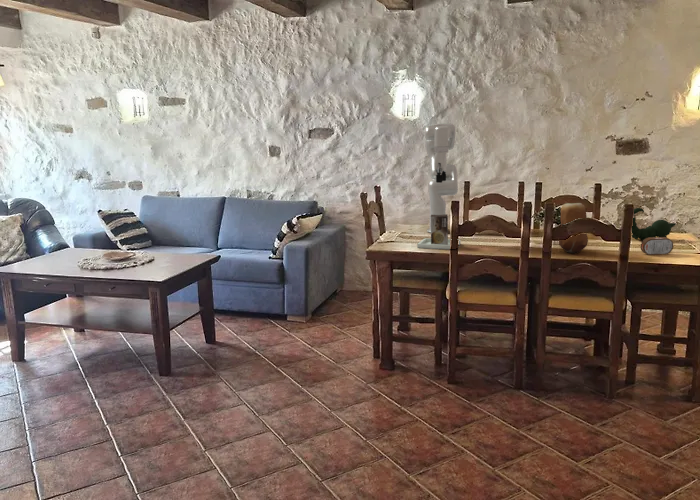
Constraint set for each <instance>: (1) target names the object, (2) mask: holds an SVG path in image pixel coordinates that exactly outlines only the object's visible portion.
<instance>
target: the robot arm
mask: <svg viewBox="0 0 700 500" xmlns="http://www.w3.org/2000/svg"><path fill="white" fill-rule="evenodd" d="M456 134H457V133H456V126H455V125H454V124H453V123H448V122H447V123H435V124H433V125H427V126H426V127H425V128H424V139H425V151H426V154H427V157H428V158H429V173H430V177H431V179H432V180H430V181H429V183H428V195H429V196H428V197H429V228H427V230H426V232H427V233H430V234H431V215H438V214H447V213H446V212H447V211H446V210H447V209H446V208H447V207H446V205H447V204H446V201H445V199H444V198H443V196H455V195H457V194H458V192H459V185H458V183H459V182H458V170H457V166H456V165H455V164H453V163H448V162H447V161H448V158H447V153H449V150H453V149H454V147H455V142H456Z"/></svg>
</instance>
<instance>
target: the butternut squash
mask: <svg viewBox="0 0 700 500" xmlns="http://www.w3.org/2000/svg"><path fill="white" fill-rule="evenodd" d="M587 216H588V215H587V209H586V205H584V204H583V203H581V202H576V203H575V202H574V203H570V202H568V203H567V202H566V203H564V204H562V205H561V207H560V218H559V219H560V223H561V225H560V226H562V224H566V223H568V222H571V221H573V220H575V219H578V218H587ZM588 243H589V236H588V234H587V233H586V234H580V235H577V236H572V237H570V238H568V239H566V240H559V239H558V244H559V247H560V248H561V249H562V250H564V251H565V252H566V253H571V254H578V253H580V252H582V251H583V250H584V249H585V248H586V247H587V245H588Z"/></svg>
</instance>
